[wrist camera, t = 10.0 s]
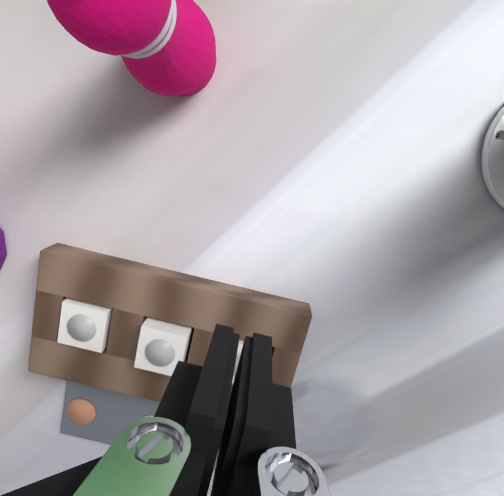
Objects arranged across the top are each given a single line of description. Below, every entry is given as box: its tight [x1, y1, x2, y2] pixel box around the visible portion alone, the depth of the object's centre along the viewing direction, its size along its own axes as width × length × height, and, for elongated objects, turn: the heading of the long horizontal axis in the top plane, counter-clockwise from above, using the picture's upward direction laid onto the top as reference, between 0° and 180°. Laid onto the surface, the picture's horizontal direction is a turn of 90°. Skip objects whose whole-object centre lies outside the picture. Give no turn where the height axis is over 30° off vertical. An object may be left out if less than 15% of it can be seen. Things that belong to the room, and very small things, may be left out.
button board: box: [28, 243, 312, 402], centre depth 40 cm, size 26×13×3 cm, turn 77°
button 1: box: [57, 298, 113, 353], centre depth 39 cm, size 4×4×3 cm
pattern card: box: [61, 381, 219, 469], centre depth 44 cm, size 20×7×1 cm, turn 77°
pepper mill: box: [47, 0, 216, 96], centre depth 25 cm, size 7×7×20 cm
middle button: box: [134, 317, 193, 376], centre depth 38 cm, size 4×4×3 cm
